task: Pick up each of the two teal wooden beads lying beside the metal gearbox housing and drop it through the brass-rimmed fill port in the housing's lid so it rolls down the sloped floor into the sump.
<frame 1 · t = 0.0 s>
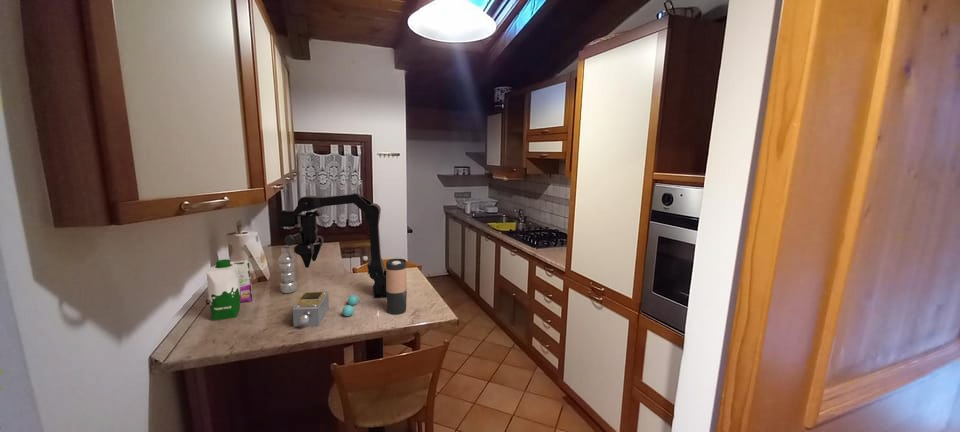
hand: (310, 264, 138), 15 cm above the table, fingers open, 9 cm apart
plastic bottle: (289, 292, 146), on the table
travel mug: (396, 311, 131), on the table
bead 1: (353, 299, 135), point 2 cm above the table
bead 2: (348, 310, 125), point 2 cm above the table
candy bar box: (236, 301, 135), on the table
gearbox: (312, 317, 123), on the table
milk carton: (226, 315, 123), on the table
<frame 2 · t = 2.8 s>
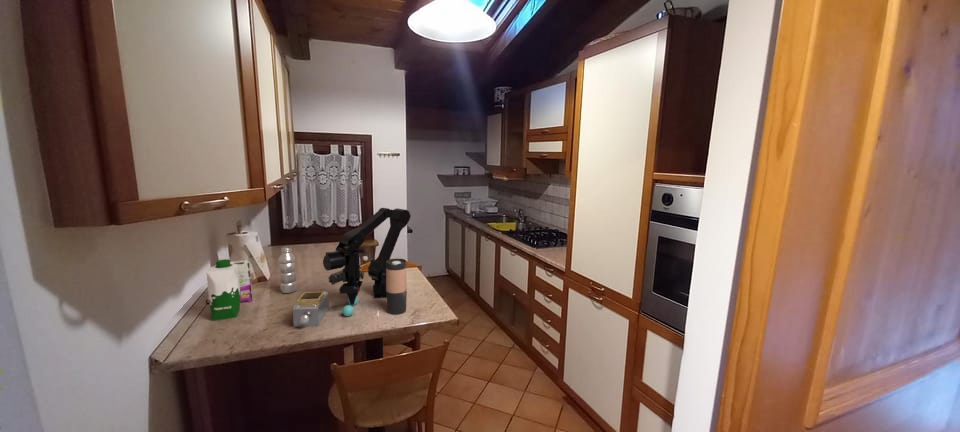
hand: (353, 302, 135), 1 cm above the table, fingers closed on bead 1, 4 cm apart
bead 1: (353, 299, 135), point 2 cm above the table, touching gripper
everything else where it was.
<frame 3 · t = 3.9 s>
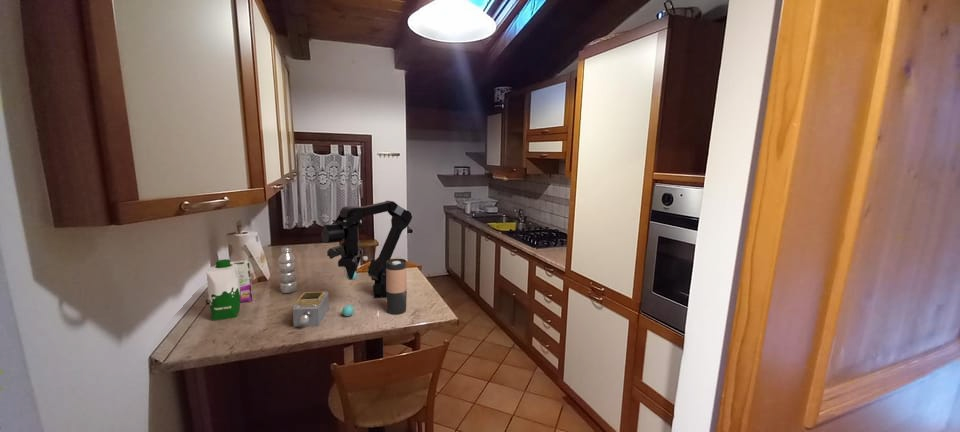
hand: (351, 277, 133), 11 cm above the table, fingers closed on bead 1, 4 cm apart
bead 1: (351, 275, 133), point 12 cm above the table, touching gripper
everything else where it was.
when the fingers open (9 cm above the table, at t = 5.3 s): bead 1 drops 7 cm and tips over, resting on gearbox.
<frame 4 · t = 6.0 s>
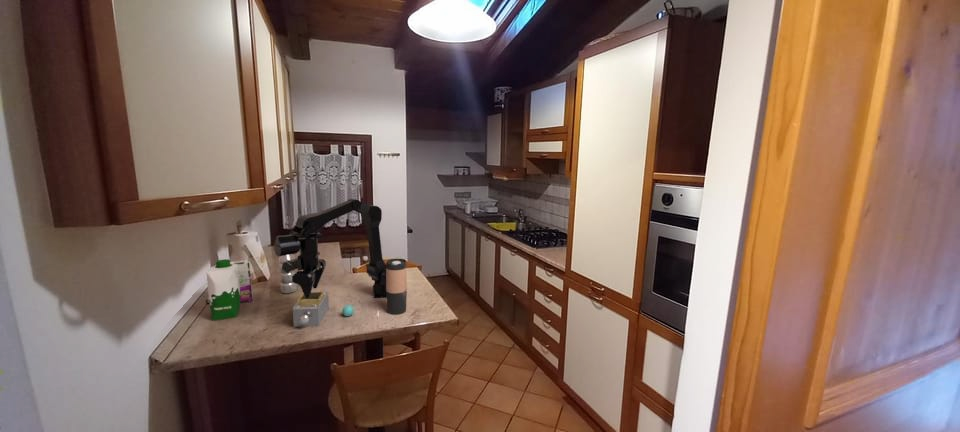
hand: (311, 292, 122), 9 cm above the table, fingers open, 9 cm apart
bead 1: (315, 304, 127), point 3 cm above the table, tilted 126°, touching gearbox
everything else where it was.
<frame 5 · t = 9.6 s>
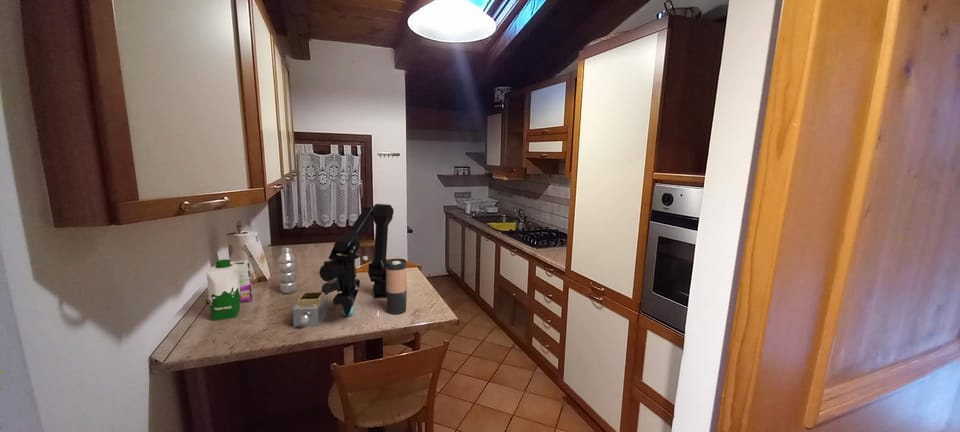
hand: (348, 313, 125), 1 cm above the table, fingers closed on bead 2, 4 cm apart
bead 2: (348, 310, 125), point 2 cm above the table, touching gripper
everything else where it was.
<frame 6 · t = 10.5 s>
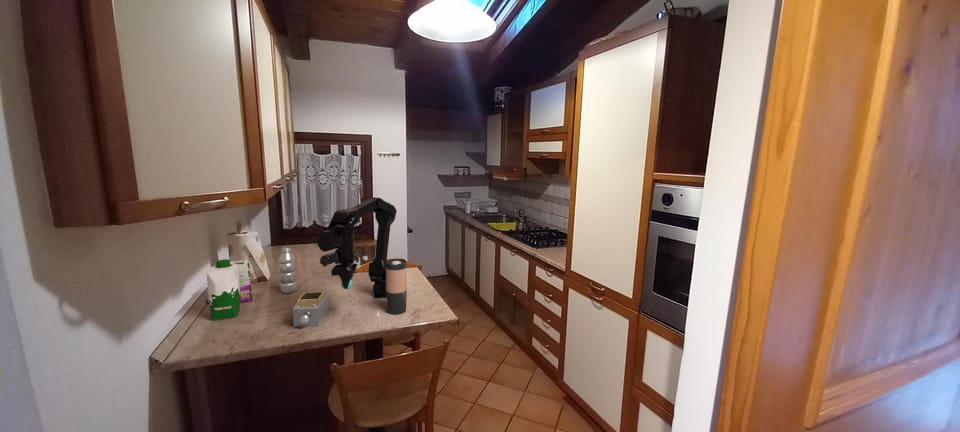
hand: (346, 286, 124), 11 cm above the table, fingers closed on bead 2, 4 cm apart
bead 2: (346, 283, 123), point 12 cm above the table, touching gripper
everything else where it was.
when the fingers open (9 cm above the table, at t = 11.8 s): bead 2 drops 7 cm, resting on bead 1, gearbox.
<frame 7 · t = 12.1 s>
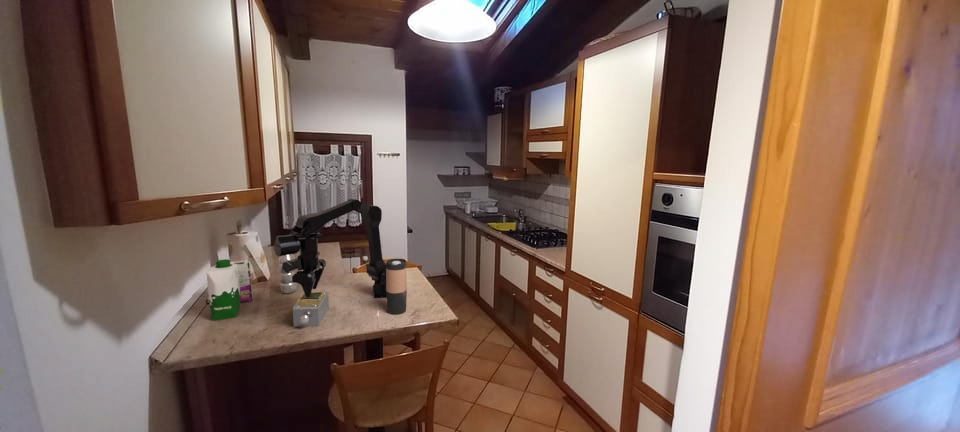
hand: (311, 292, 122), 9 cm above the table, fingers open, 7 cm apart
bead 1: (315, 304, 127), point 3 cm above the table, tilted 126°, touching bead 2, gearbox
bead 2: (312, 307, 123), point 4 cm above the table, tilted 13°, touching bead 1, gearbox
everything else where it was.
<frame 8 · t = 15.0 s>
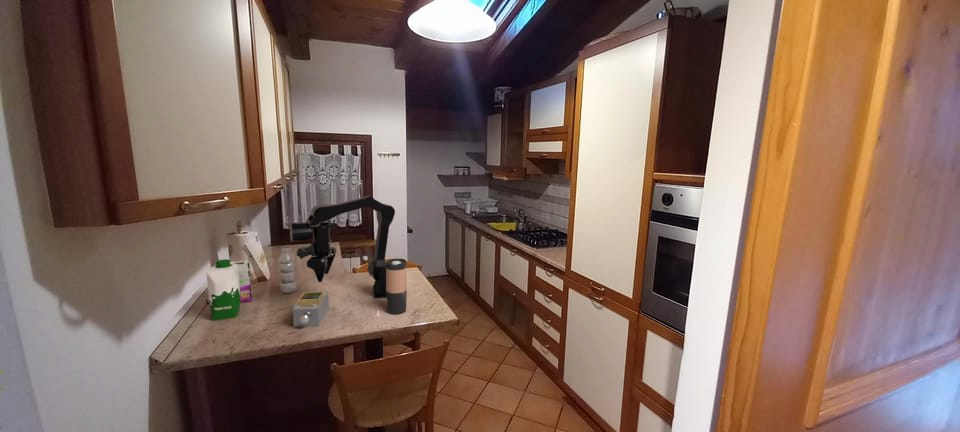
hand: (323, 277, 130), 12 cm above the table, fingers open, 9 cm apart
nothing on the table moved.
at the end: bead 1 inside the target area on the gearbox (4.4 cm from its centre), point 3.3 cm above the gearbox's base; bead 2 inside the target area on the gearbox (0.4 cm from its centre), point 3.8 cm above the gearbox's base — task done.
